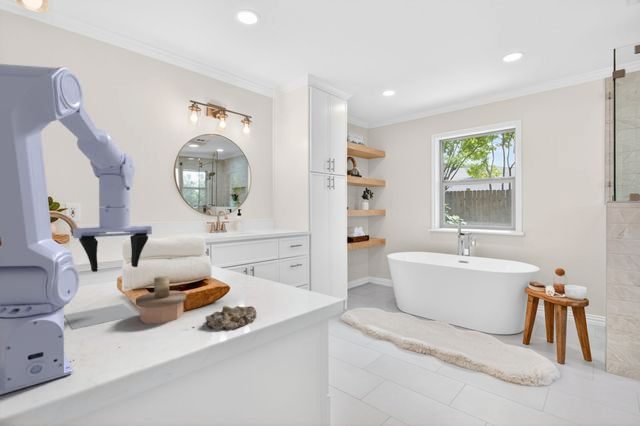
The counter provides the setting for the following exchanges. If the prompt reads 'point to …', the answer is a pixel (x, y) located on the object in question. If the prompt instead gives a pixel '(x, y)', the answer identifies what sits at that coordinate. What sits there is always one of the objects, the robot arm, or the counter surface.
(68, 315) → the mat
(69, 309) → the counter surface
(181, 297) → the lid
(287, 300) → the counter surface
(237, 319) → the mineral rock
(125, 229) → the robot arm
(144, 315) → the bowl
